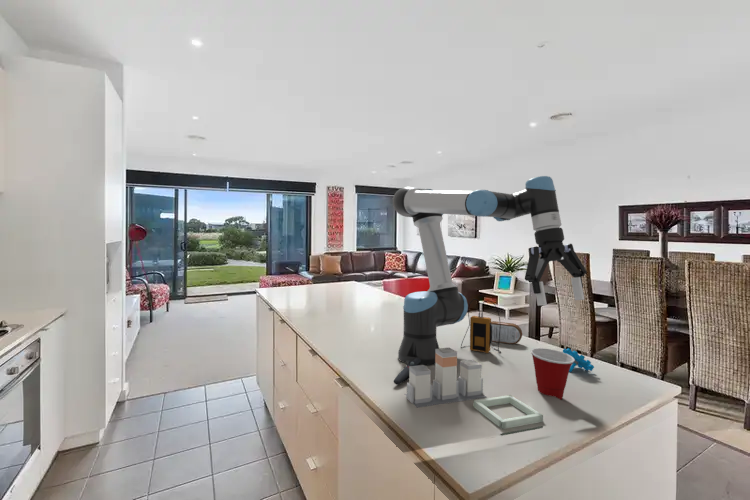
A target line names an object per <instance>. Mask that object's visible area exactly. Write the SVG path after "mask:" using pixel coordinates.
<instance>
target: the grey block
mask: <svg viewBox="0 0 750 500" xmlns="http://www.w3.org/2000/svg"><path fill="white" fill-rule="evenodd" d="M431 372H432V371H431V369H430V368H428V366H427V365H425V366H424V365H418V366H409V379H408V380H409V381H408V383H410V384H411V385H412V386H413V387H414V403H415V404H417V403H424V402H430V383H431V375H432V373H431Z"/></svg>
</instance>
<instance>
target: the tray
mask: <svg viewBox="0 0 750 500" xmlns="http://www.w3.org/2000/svg"><path fill="white" fill-rule="evenodd" d="M472 401H473V403H472V407H473V408H474V409H476V410H477V411H478V412H480V413H481V415H483V416H484V417H486V418H487V419H488V420H489V421H491V422H493V424H495V425H496V426H498V427H499V428H500V429H501V430H505V429H511V428H516V427H520V426H521V427H522V426H527V425H533V424H537V423H543V422H544V414H543V413H540V412H539V411H538V410H536V409H534V408H533V407H531V406H530V405H528V404H526V403H524V402H523V401H521V400H520V399H518V398H516V397H514V396H513V395H511V394H507V395H501V396H496V397H495V396H494V397H487V398H480V399H473V400H472ZM507 404H511V405H512V406H514V407H515V408H517V409H518V410H519V411H521V412H523V413H524V414H525V415H520V416H515V417H510V418H509V417H508V418H502V417H501V416H500V415H498V414H497V413H495V412H494V411H492V410H491V409H489V408H488V407H493V406H500V405H507ZM543 427H544V426H543V425H540V426H535V427H529V428H525V429H519V430H514V431H513V430H512V431H508V432H503V433H499V435H501V436H502V437H503V436H507V435H514V434H517V433H519V434H520V433H524V432H529V431H533V430H539V429H543Z"/></svg>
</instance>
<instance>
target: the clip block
mask: <svg viewBox="0 0 750 500" xmlns="http://www.w3.org/2000/svg"><path fill="white" fill-rule="evenodd" d="M440 392H441V384H440V383H439V382H438V381H437V380H435V379H433V380H432V383H431V382H430V402H424V403H417V404H415V403H414V387H413V386H412V385H411V384H410V383H409V382H406V393H404V395H405V397H406V399H407V400H408V401H409V402H410V403H411V404H413V405H414V407H416V408H423V407H424V408H425V407H431V406H437V405H444V404H450V403H451V404H452V403H458V402H464V401H465V402H466V401H473V400H480V399H487V398H488V397H487V396H486V395H484V394H483V393H484V378H483V377H482V376H481V394H480V395H473V396H467V395H466V380H465V379H463V378H462V377H460V375H459V376H457V379H456V398H452V399H445V400H442V399H441V398H440Z"/></svg>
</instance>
